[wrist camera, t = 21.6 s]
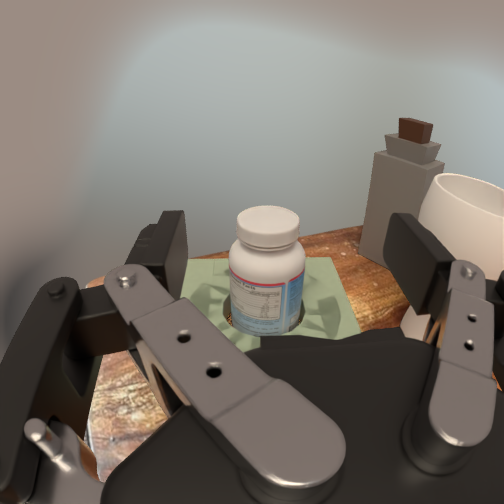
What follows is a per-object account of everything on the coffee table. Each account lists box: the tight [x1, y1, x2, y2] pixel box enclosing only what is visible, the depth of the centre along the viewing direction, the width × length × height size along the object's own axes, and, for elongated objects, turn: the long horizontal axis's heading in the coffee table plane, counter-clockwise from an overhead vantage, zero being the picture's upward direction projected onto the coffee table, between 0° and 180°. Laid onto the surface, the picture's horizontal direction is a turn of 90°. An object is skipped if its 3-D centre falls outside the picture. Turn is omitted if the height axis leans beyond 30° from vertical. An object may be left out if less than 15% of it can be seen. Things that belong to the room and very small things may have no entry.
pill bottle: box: [229, 206, 305, 337], centre depth 27 cm, size 6×6×11 cm
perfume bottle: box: [358, 118, 444, 269], centre depth 36 cm, size 7×7×18 cm
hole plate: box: [180, 257, 362, 352], centre depth 29 cm, size 16×16×2 cm
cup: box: [400, 173, 504, 341], centre depth 24 cm, size 11×11×15 cm
